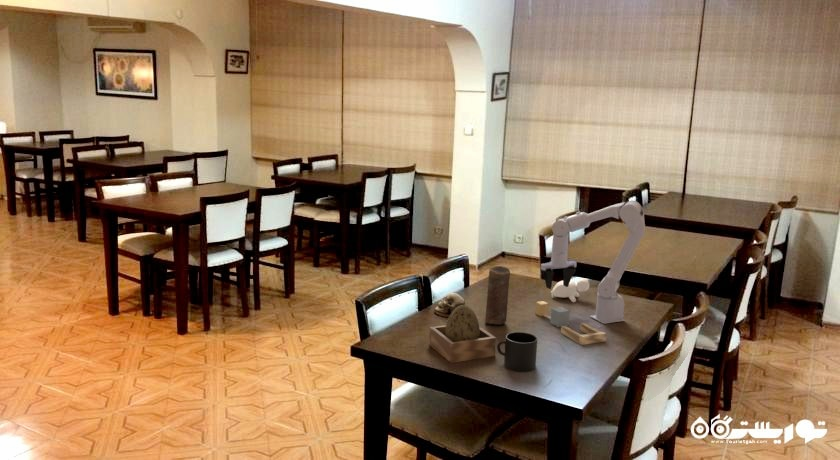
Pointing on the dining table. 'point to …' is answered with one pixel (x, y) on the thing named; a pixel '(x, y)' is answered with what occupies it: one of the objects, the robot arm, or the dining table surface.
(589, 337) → the lane
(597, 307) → the robot arm
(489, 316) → the candle
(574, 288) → the white animal figurine
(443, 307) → the skull
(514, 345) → the mug
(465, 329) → the decorative egg
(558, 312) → the tethered block
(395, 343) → the dining table surface
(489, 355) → the square wooden tray
